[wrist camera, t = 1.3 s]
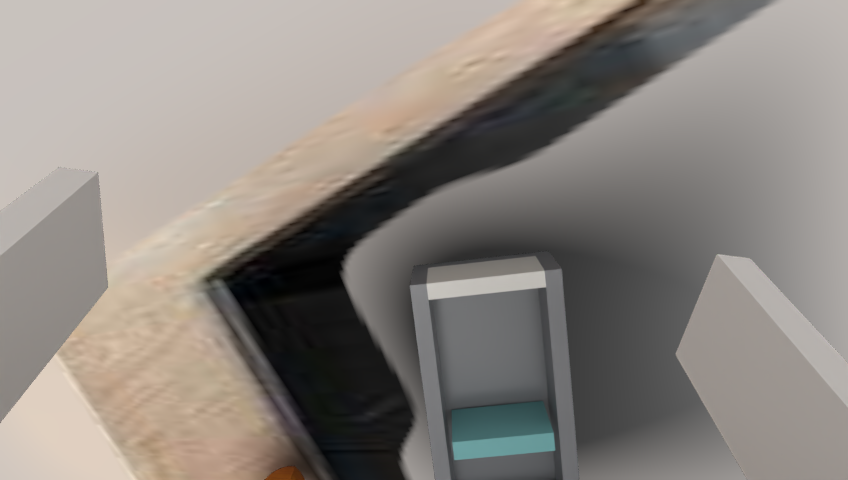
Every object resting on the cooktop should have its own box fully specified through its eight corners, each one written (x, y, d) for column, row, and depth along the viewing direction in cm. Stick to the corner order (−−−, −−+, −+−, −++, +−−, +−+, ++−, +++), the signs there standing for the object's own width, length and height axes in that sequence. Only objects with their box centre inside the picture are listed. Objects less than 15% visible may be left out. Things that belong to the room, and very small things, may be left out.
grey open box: (568, 482, 46) (583, 526, 41) (443, 494, 47) (442, 539, 42) (548, 251, 43) (561, 268, 38) (413, 265, 43) (409, 285, 38)
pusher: (544, 417, 44) (555, 450, 40) (453, 426, 44) (454, 460, 40) (543, 400, 44) (553, 432, 39) (451, 410, 44) (452, 442, 40)
